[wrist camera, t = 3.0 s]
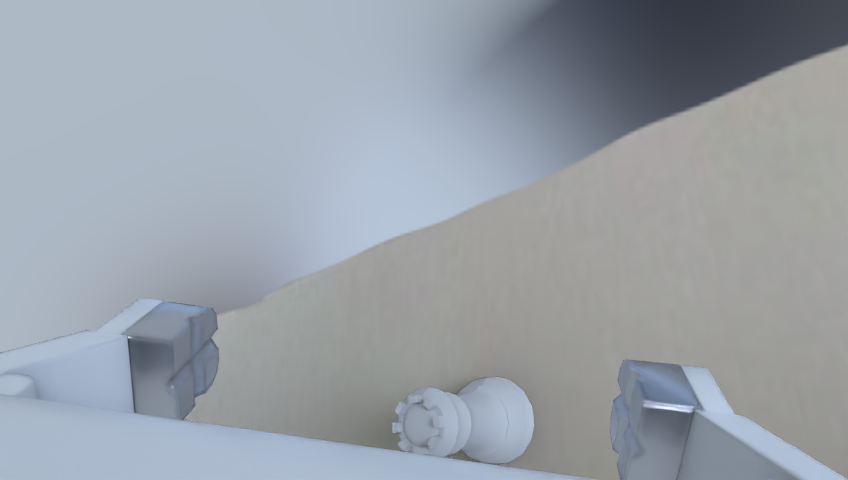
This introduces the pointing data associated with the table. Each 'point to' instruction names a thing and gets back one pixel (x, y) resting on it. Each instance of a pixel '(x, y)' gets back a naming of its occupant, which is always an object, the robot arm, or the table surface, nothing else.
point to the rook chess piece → (467, 421)
